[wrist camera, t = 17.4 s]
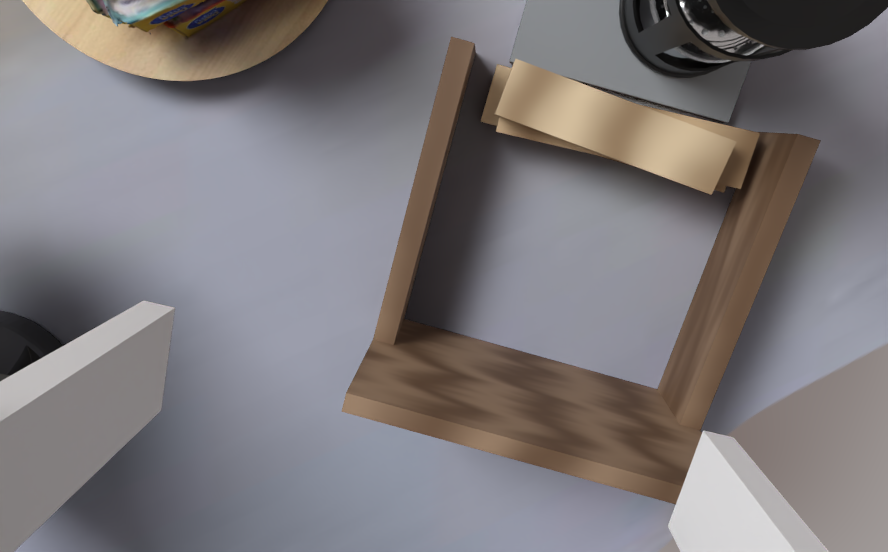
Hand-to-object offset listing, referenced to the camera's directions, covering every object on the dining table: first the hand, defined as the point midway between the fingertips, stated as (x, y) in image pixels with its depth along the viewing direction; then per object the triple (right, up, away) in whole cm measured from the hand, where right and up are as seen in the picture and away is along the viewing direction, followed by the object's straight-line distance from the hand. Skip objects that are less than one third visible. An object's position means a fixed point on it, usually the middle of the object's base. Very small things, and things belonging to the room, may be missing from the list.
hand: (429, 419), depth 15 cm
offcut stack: (+12, +14, +31) cm, 36 cm away
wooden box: (+10, +6, +33) cm, 35 cm away
